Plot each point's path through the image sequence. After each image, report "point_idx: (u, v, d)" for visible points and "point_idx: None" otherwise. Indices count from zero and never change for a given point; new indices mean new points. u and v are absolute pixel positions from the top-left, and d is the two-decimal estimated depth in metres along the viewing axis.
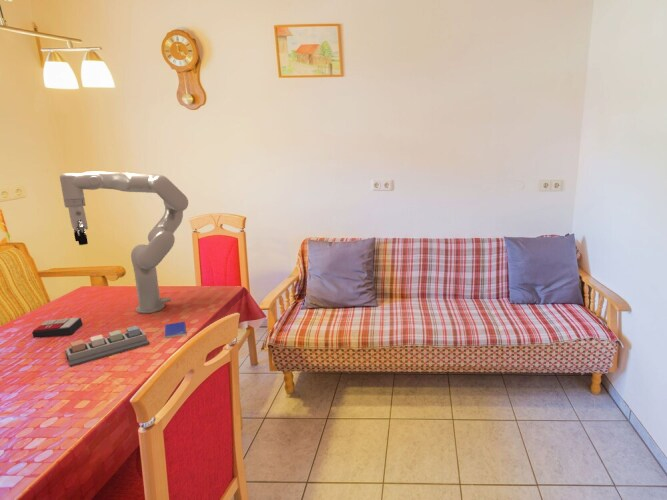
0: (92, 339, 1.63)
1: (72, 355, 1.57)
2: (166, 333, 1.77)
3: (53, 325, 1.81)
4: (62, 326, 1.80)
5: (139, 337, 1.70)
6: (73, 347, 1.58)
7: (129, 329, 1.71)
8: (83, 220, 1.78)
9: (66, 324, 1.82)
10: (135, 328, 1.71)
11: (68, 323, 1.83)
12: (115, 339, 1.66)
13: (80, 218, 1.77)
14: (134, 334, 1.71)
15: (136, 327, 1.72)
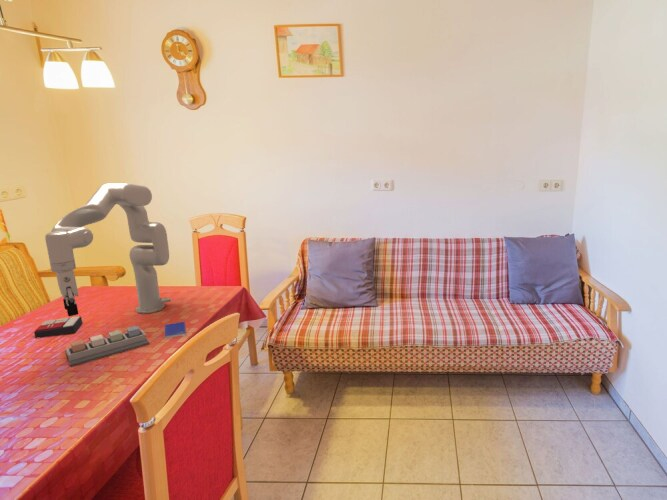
0: (92, 339, 1.63)
1: (72, 355, 1.57)
2: (166, 333, 1.77)
3: (55, 324, 1.82)
4: (65, 325, 1.81)
5: (139, 337, 1.70)
6: (73, 347, 1.58)
7: (129, 329, 1.71)
8: (73, 286, 1.52)
9: (68, 323, 1.83)
10: (135, 328, 1.71)
11: (70, 322, 1.84)
12: (115, 339, 1.66)
13: (69, 284, 1.51)
14: (134, 334, 1.71)
15: (136, 327, 1.72)
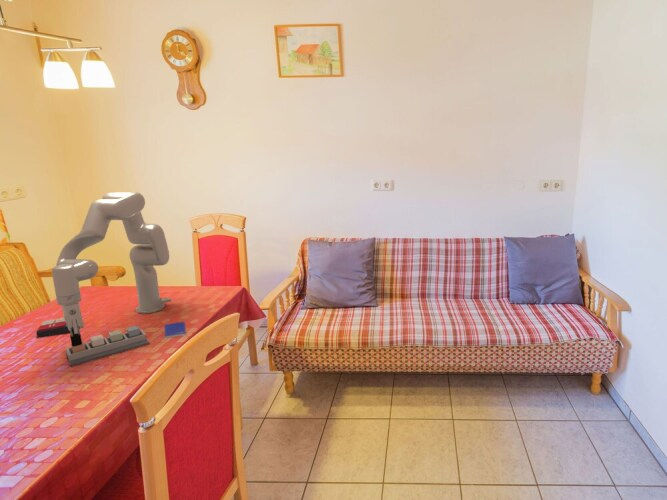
0: (92, 339, 1.63)
1: (72, 355, 1.57)
2: (166, 333, 1.77)
3: (56, 324, 1.82)
4: None
5: (139, 337, 1.70)
6: (73, 349, 1.58)
7: (129, 329, 1.71)
8: (78, 319, 1.54)
9: None
10: (135, 328, 1.71)
11: None
12: (115, 339, 1.66)
13: (75, 317, 1.54)
14: (134, 334, 1.71)
15: (136, 327, 1.72)
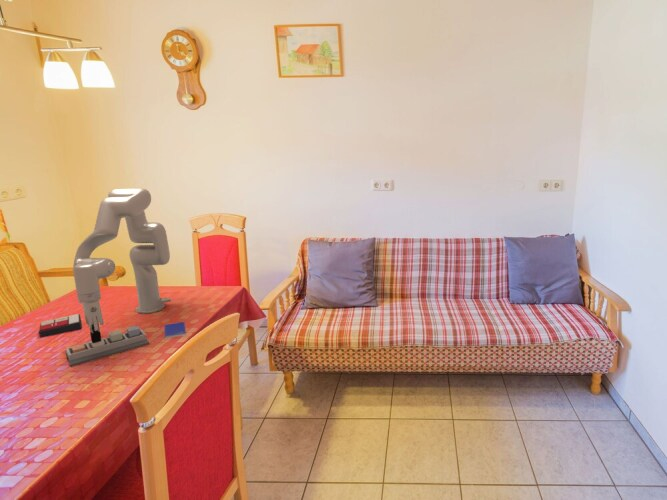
0: None
1: (72, 355, 1.57)
2: (166, 333, 1.77)
3: (58, 323, 1.83)
4: (70, 322, 1.84)
5: (139, 337, 1.70)
6: (74, 351, 1.58)
7: (129, 329, 1.71)
8: (99, 316, 1.58)
9: (72, 320, 1.86)
10: (135, 328, 1.71)
11: (73, 319, 1.87)
12: (115, 339, 1.66)
13: (95, 314, 1.58)
14: (134, 334, 1.71)
15: (136, 327, 1.72)
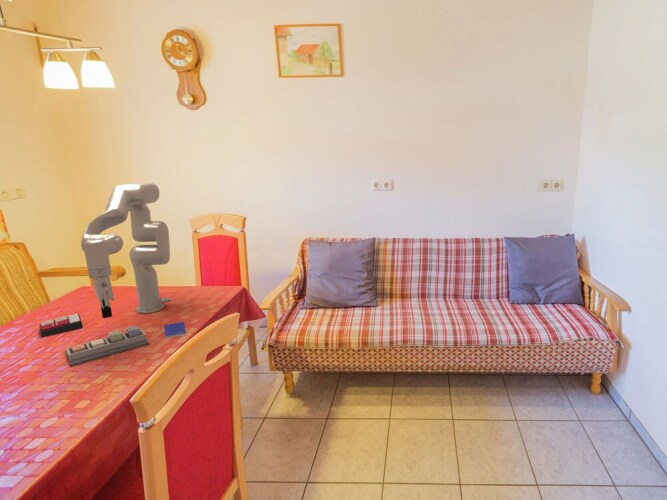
0: (93, 343, 1.63)
1: (72, 355, 1.57)
2: (166, 333, 1.77)
3: (59, 322, 1.84)
4: (71, 321, 1.85)
5: (139, 337, 1.70)
6: (74, 351, 1.58)
7: (129, 329, 1.71)
8: (109, 291, 1.59)
9: (73, 319, 1.87)
10: (135, 328, 1.71)
11: (73, 318, 1.88)
12: (115, 339, 1.66)
13: (106, 290, 1.58)
14: (134, 334, 1.71)
15: (136, 327, 1.72)
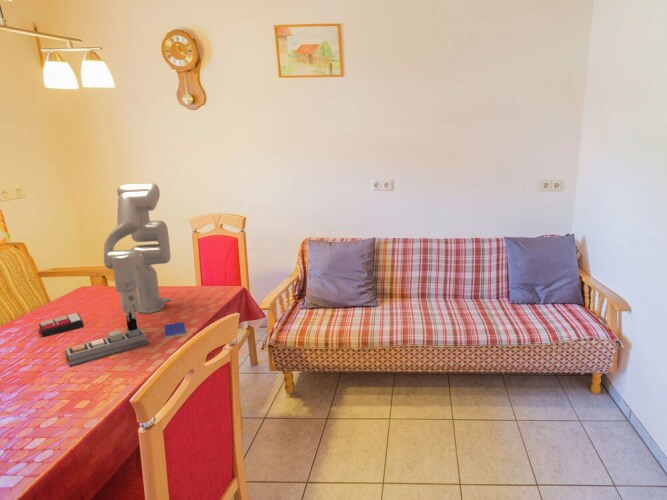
0: (93, 343, 1.63)
1: (72, 355, 1.57)
2: (166, 333, 1.77)
3: (59, 322, 1.84)
4: (72, 320, 1.86)
5: (139, 337, 1.70)
6: (74, 351, 1.58)
7: None
8: (136, 305, 1.66)
9: (73, 318, 1.88)
10: None
11: (74, 317, 1.88)
12: (115, 339, 1.66)
13: (133, 303, 1.65)
14: (134, 334, 1.71)
15: None
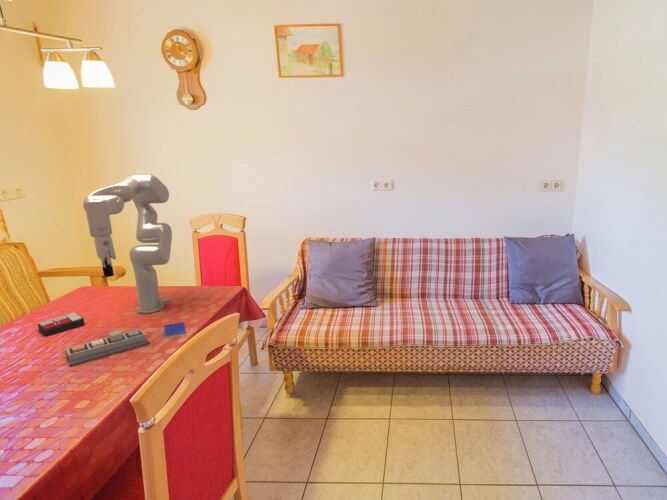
0: (93, 343, 1.63)
1: (72, 355, 1.57)
2: (166, 333, 1.77)
3: (60, 321, 1.85)
4: (73, 319, 1.87)
5: (139, 337, 1.70)
6: (74, 351, 1.58)
7: (130, 333, 1.71)
8: (111, 250, 1.64)
9: (73, 317, 1.89)
10: (136, 332, 1.72)
11: (74, 316, 1.90)
12: (115, 339, 1.66)
13: (108, 248, 1.63)
14: None
15: (137, 331, 1.73)
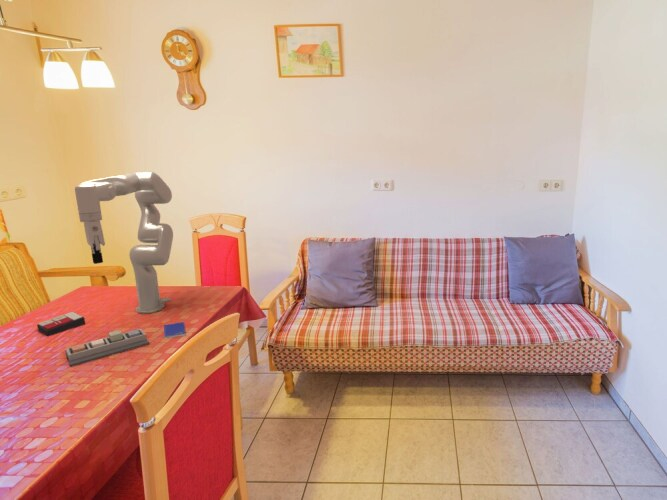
0: (93, 343, 1.63)
1: (72, 355, 1.57)
2: (166, 333, 1.77)
3: (61, 321, 1.86)
4: (73, 318, 1.88)
5: (139, 337, 1.70)
6: (74, 351, 1.58)
7: (130, 333, 1.71)
8: (100, 236, 1.63)
9: (73, 316, 1.90)
10: (136, 332, 1.72)
11: (73, 316, 1.90)
12: (115, 339, 1.66)
13: (97, 234, 1.62)
14: None
15: (137, 331, 1.73)
